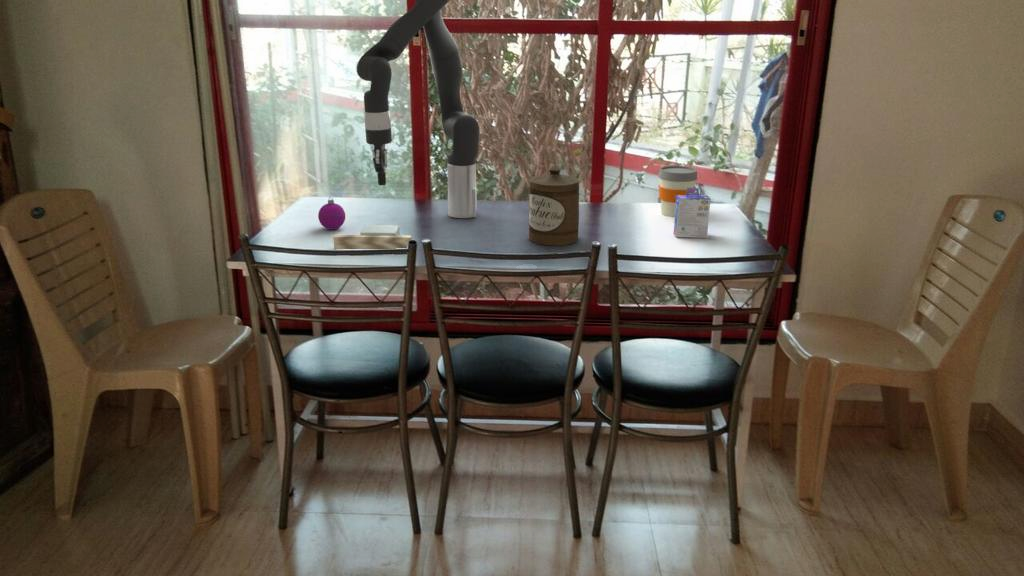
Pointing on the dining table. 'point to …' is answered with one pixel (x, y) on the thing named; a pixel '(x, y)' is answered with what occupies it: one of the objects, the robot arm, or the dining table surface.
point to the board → (371, 241)
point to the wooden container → (554, 208)
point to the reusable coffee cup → (674, 186)
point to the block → (380, 230)
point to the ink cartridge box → (691, 215)
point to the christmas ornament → (331, 215)
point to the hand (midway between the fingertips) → (382, 184)
